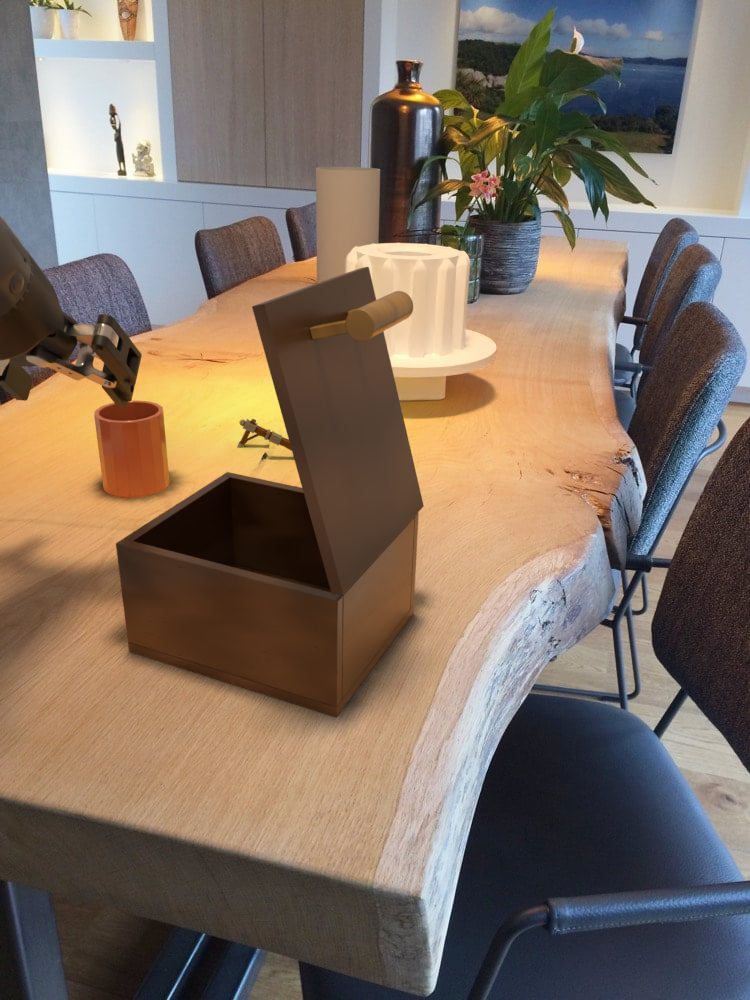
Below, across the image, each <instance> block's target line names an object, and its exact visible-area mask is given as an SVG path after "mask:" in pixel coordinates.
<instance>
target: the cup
mask: <svg viewBox="0 0 750 1000" xmlns="http://www.w3.org/2000/svg"><path fill="white" fill-rule="evenodd" d="M93 414H94V415H93V417H94V425H95V432H96V439H97V440H96V441H97V448H98V457H99V464H100V465H99V466H100V471H101V479H102V488H103V491H104V492H106V493H107V494H108V495H111V496H113V497H117V498H127V499H133V498H134V499H135V498H144V497H149V496H152V495H156V494H158V493H160V492H162V491H164V490H166V489H167V487H168V486H169V485H170V484H171V483H170V482H171V481H170V472H169V470H170V469H169V460H168V448H167V437H166V425H165V416H164V415H165V414H164V408H163V406H162V405H160V404H159V403H157V402H153V401H149V400H135V399H134V400H132V401H129V402H128V405H127V407H122V406H117V405H116V404H115V403H114V402H111V403H107V404H105V405H102V406H99V407H98V408H96V409H95V410H94V412H93Z"/></svg>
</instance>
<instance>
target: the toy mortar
mask: <svg viewBox="0 0 750 1000" xmlns="http://www.w3.org/2000/svg"><path fill="white" fill-rule="evenodd" d="M239 425H240V426H241V427H242V429H243V430H245V431H244V432H243V435H242V437H241V439H240V440H239V441H238V443H237V446H236V448H237V449H243V448H245V445H246V444H247V443H248V442H249V441H251V440H253V439H255V438H257V437H262V438H264V440H265V441H267V440H268V442H269V443H273V444H275V445H276V446H282V447H283V448H285V449H287V450H289V451H291V452H292V449H291V446H290V442H289V438H286V437H284V436H283V435H282V434H279V433H278V432H275V431H274V430H272V431H271V429H269V428H264V427H262V426H260V425H258V422H257V419H255V418H251V420H250V419H249V418H246V419H240V420H239ZM250 433H252V434H254V435H251V436H250ZM247 447H249V446H247ZM261 458H263V459H266V458H268V453H267V452H264V453H263V454H262V456H261Z"/></svg>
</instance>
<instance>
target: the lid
mask: <svg viewBox="0 0 750 1000" xmlns="http://www.w3.org/2000/svg"><path fill="white" fill-rule="evenodd" d="M251 308H252V313H253V316H254V320H255V323H256V327H257V330H258V334H259V337H260V341H261V344H262V348H263V351H264V355H265V359H266V363H267V367H268V370H269V374H270V377H271V380H272V384H273V387H274V391H275V394H276V395H275V396H276V398H277V403H278V406H279V409H280V413H281V416H282V420H283V423H284V427H285V428H284V429H285V431H286V435H287V439H289V442H290V446H291V449H292V451H291V453H292V456H293V459H294V463H295V466H296V471H297V474H298V478H299V482H300V486H301V488H302V489H303V492H304V496H305V499H306V503H307V507H308V510H309V514H310V517H311V521H312V525H313V528H314V532H315V535H316V539H317V543H318V546H319V550H320V553H321V557H322V561H323V564H324V568H325V571H326V575H327V579H328V582H329V586H330V589H331V593H332V595H342V594H344V593H345V592H346V591H347V590H348V589H349V587H350V586H351V585H352V584H353V583H354V582H355V581H356V580H357V579H358V578H359V576H360V575H361V574H362V573H363V572H364V571H365V570H366V569H367V568H368V567H369V566H370V564H371V563H372V562H373V561H374V560H375V559H376V558H377V557H378V556H379V555H380V554H381V552H382V551H383V550H384V549H385V548H386V547H387V546H388V545H389V544H390V543H391V542H392V540H393V539H394V538H395V537H396V536H397V535H398V534H399V533H400V532H401V531H402V530H403V528H404V527H405V526H406V525H407V524H408V523H409V522H410V521H411V520H412V519H413V518H414V516H415V515H416V514H417V513H419V512H420V511H421V510H422V509H423V508H424V502H423V496H422V493H421V488H420V484H419V479H418V476H417V470H416V467H415V461H414V457H413V453H412V450H411V445H410V441H409V440H410V439H409V436H408V432H407V428H406V423H405V419H404V414H403V410H402V406H401V401H399V396H398V392H397V388H396V383H395V379H394V375H393V370H392V366H391V362H390V357H389V353H388V349H387V344H386V340H385V336H384V331H385V330H387V329H389V328H390V327H392V326H394V325H396V324H398V323H400V322H402V321H404V320H405V319H407V318H409V317H410V315H411V314H412V312H413V302H412V299H411V298H410V296H409V295H408V294H407V293H405V292H402V291H396V292H393V293H391V294H389V295H386V296H384V297H382V298H380V299H377V300H376V297H375V292H374V288H373V284H372V279H371V275H370V271H369V267H364V268H359V269H356V270H353V271H351V272H348V273H345V274H342V275H339V276H336V277H334V278H331V279H328V280H325V281H322V282H320V283H317V282H316V283H314V284H312V285H311V284H310V285H308V286H305V287H303V288H300V289H298V290H295V291H292V292H289V293H286V294H282V295H280V296H278V297H273V298H271V299H269V300H266V301H263V302H260V303H258V304H257V303H256V304H255V305H252V306H251Z"/></svg>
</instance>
